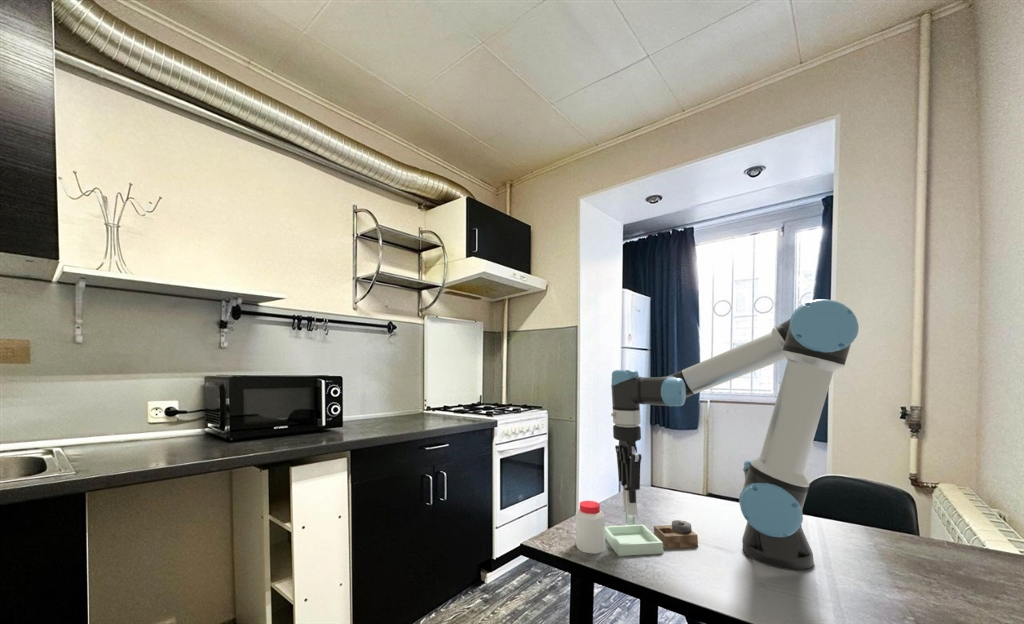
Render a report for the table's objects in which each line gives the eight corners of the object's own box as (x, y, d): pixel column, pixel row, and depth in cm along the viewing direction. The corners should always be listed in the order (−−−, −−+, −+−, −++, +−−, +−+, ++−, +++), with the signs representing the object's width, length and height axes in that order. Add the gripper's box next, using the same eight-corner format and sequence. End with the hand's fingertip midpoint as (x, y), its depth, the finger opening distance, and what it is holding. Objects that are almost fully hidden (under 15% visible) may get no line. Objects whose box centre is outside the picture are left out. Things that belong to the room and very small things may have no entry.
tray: (643, 533, 115) (643, 524, 116) (663, 553, 103) (662, 542, 104) (603, 536, 114) (603, 526, 114) (618, 556, 102) (618, 545, 103)
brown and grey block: (684, 535, 114) (683, 516, 115) (698, 546, 107) (696, 526, 108) (654, 537, 113) (653, 517, 114) (666, 548, 106) (664, 527, 107)
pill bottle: (598, 556, 102) (596, 511, 104) (571, 548, 107) (570, 505, 108) (610, 545, 108) (608, 502, 110) (584, 538, 113) (583, 497, 114)
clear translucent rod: (635, 522, 110) (633, 484, 111) (633, 525, 108) (632, 486, 109) (627, 521, 111) (625, 483, 112) (625, 524, 109) (624, 485, 110)
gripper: (605, 421, 120) (607, 504, 117) (623, 429, 105) (627, 524, 102) (629, 420, 120) (632, 503, 118) (650, 428, 106) (655, 522, 103)
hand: (630, 512), depth 110 cm, fingers closed on clear translucent rod, 2 cm apart
